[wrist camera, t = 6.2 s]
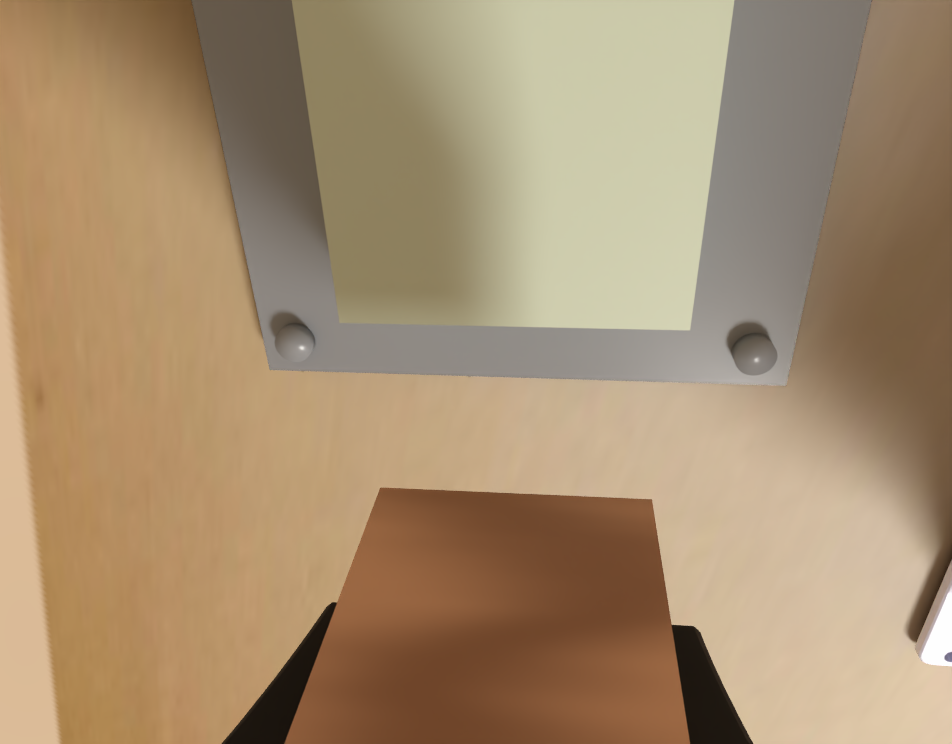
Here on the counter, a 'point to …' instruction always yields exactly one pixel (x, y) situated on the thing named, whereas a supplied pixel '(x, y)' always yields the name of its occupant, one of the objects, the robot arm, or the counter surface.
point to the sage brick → (514, 157)
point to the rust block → (499, 626)
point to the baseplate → (545, 348)
